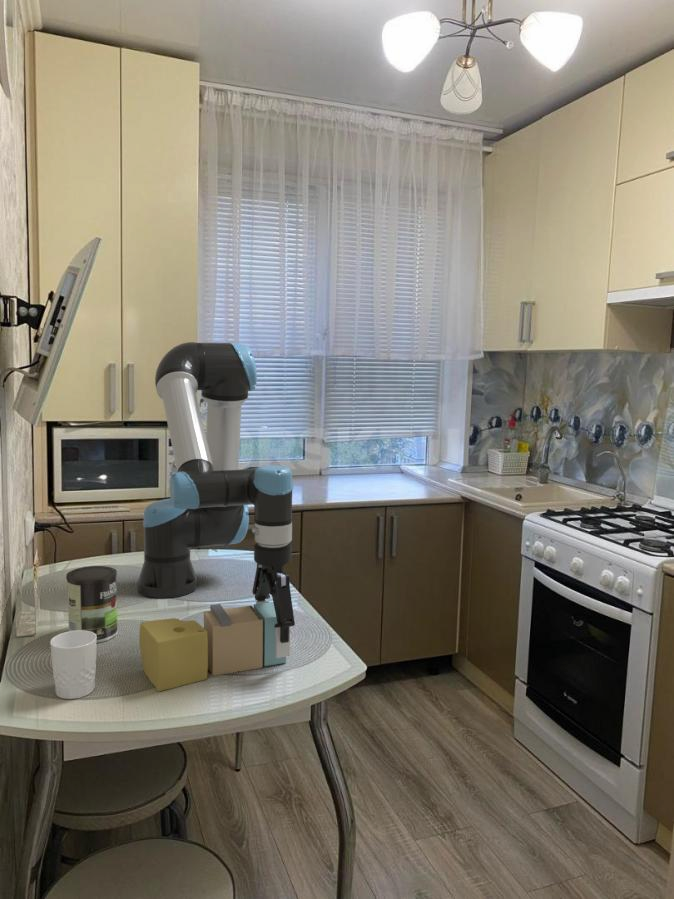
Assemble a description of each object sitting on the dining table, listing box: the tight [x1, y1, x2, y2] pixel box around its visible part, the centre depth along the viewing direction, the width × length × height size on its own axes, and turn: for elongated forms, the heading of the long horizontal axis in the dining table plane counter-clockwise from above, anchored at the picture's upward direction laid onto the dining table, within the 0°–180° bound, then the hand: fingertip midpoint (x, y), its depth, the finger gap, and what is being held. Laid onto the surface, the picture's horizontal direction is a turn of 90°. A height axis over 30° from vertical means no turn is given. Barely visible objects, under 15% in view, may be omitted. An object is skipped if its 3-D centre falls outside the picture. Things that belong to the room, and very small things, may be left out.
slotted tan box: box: [203, 603, 263, 677], centre depth 137 cm, size 9×10×11 cm
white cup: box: [50, 630, 98, 700], centre depth 124 cm, size 8×8×10 cm
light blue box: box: [253, 601, 287, 667], centre depth 140 cm, size 8×4×10 cm, turn 23°
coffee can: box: [65, 565, 119, 644], centre depth 148 cm, size 10×10×14 cm
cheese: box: [138, 617, 209, 692], centre depth 131 cm, size 10×11×10 cm
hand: (271, 642), depth 140 cm, fingers open, 13 cm apart
